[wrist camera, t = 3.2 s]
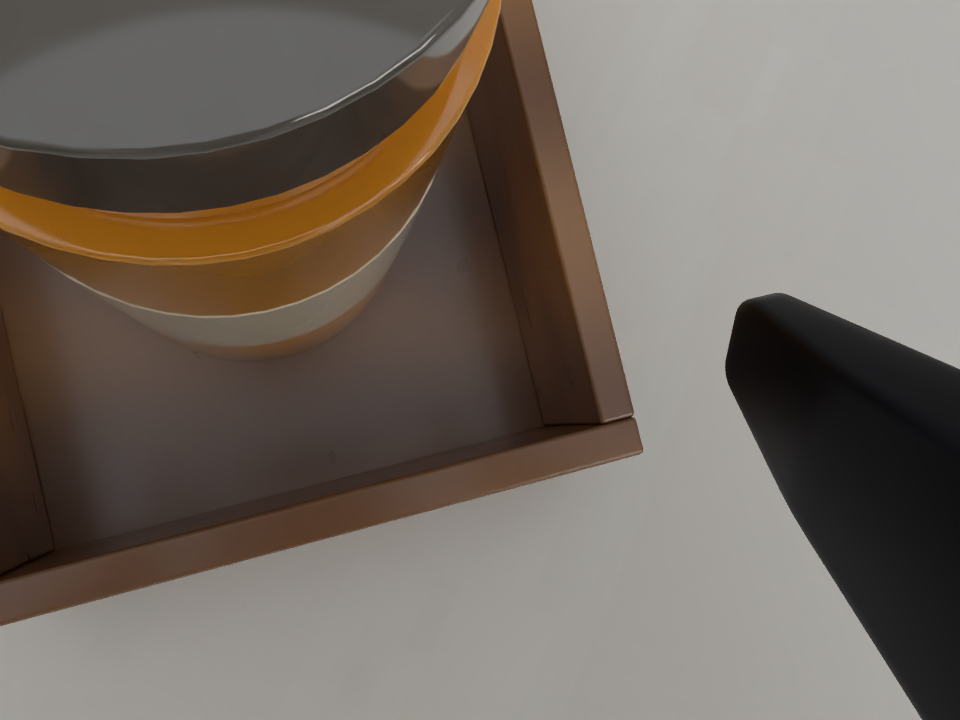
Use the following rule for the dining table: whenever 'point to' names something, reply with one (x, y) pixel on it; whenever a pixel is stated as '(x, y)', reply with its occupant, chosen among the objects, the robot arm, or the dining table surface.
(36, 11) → the jar
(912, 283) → the dining table surface
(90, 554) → the wooden box
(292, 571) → the dining table surface
